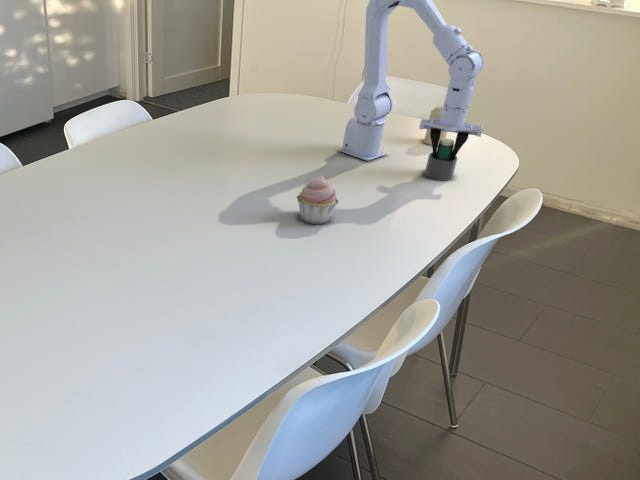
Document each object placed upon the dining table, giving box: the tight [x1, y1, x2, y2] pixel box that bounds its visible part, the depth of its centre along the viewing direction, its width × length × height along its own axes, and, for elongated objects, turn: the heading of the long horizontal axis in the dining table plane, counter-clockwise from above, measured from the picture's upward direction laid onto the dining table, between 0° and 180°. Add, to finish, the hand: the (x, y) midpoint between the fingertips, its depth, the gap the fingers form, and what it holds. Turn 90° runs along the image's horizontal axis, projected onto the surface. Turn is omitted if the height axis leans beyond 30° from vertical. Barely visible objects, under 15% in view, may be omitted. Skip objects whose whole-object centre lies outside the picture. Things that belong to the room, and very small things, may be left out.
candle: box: [423, 106, 448, 146], centre depth 204 cm, size 6×6×10 cm
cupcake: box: [295, 175, 340, 225], centre depth 161 cm, size 9×9×10 cm
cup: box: [424, 151, 458, 181], centre depth 186 cm, size 7×7×5 cm
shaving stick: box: [435, 138, 455, 161], centre depth 184 cm, size 4×4×8 cm
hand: (442, 160), depth 185 cm, fingers closed on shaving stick, 4 cm apart
